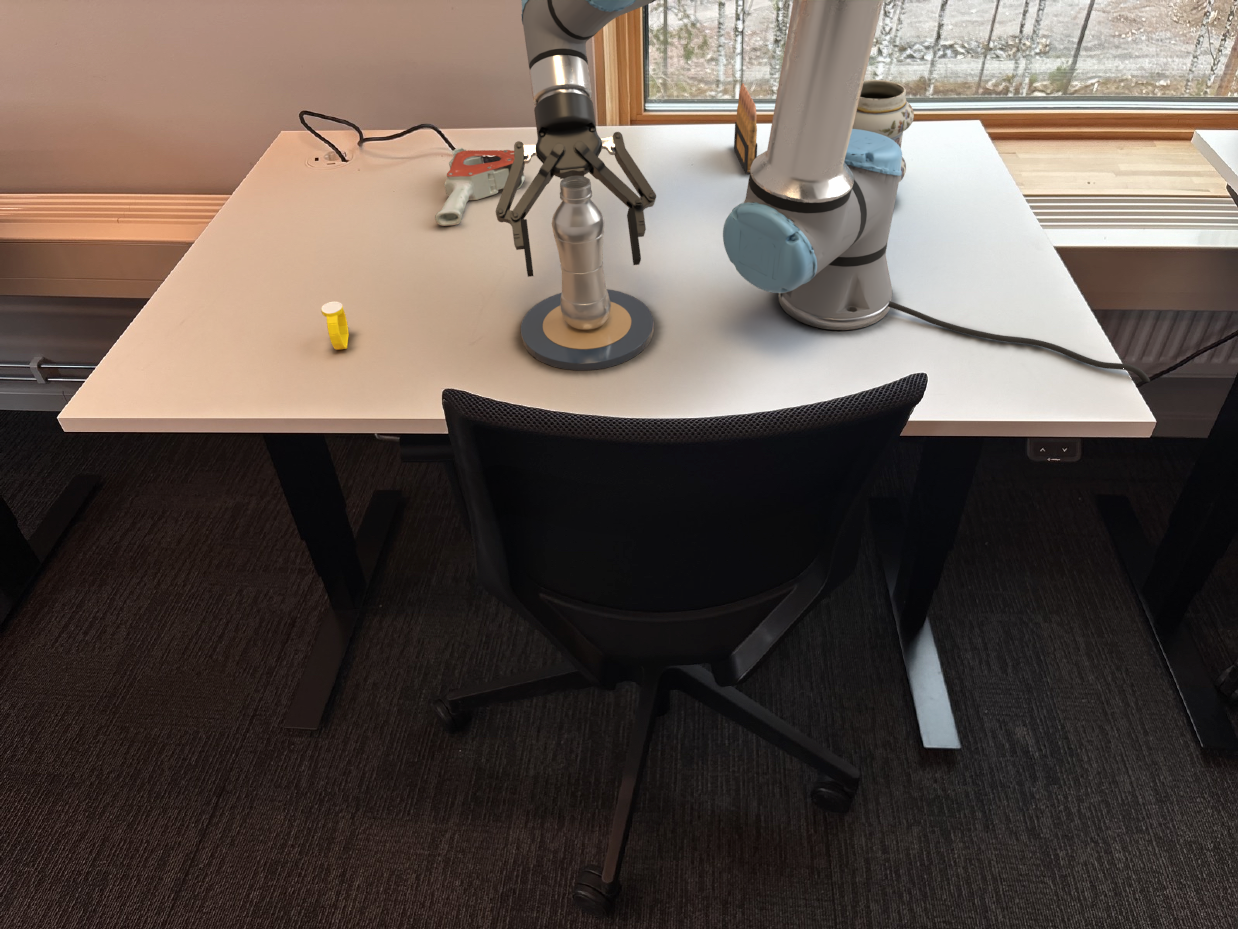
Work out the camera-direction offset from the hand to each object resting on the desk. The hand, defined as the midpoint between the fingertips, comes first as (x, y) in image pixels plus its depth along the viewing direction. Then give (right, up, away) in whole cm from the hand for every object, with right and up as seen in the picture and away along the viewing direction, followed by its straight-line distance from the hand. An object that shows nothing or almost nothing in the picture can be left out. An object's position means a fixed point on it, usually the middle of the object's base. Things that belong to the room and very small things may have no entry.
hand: (584, 268), depth 113 cm
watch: (-33, -8, +10) cm, 36 cm away
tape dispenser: (-21, +21, +41) cm, 51 cm away
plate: (0, -7, +9) cm, 11 cm away
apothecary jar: (+44, +18, +33) cm, 58 cm away
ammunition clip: (+27, +29, +46) cm, 61 cm away
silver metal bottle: (0, -6, +9) cm, 10 cm away
